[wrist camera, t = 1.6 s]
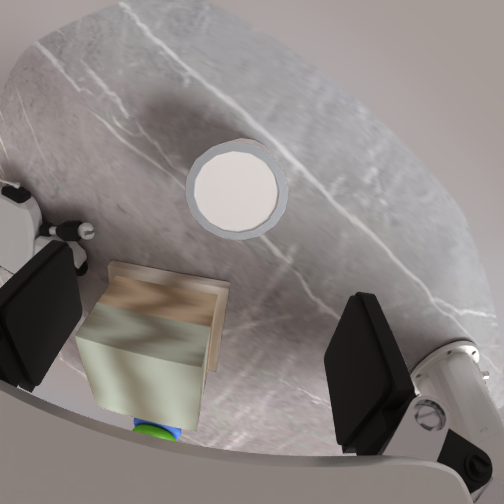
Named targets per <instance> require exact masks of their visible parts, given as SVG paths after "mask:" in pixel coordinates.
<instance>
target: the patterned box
mask: <svg viewBox="0 0 504 504" xmlns="http://www.w3.org/2000/svg"><path fill="white" fill-rule="evenodd" d="M107 269H108V280H109V286H108V287H107V289H106V290H105V292H104V293H103V294H102V296H101V297H100V299H99V300H98V302H97V303H96V305H95V306H94V307H93V309H92V310H91V312H90V313H89V315H88V316H87V318H86V319H85V321H84V322H83V324H82V325H81V327H80V328H79V330H78V332H77V333H76V335H75V339H76V343H77V346H78V350H79V353H80V356H81V360H82V363H83V366H84V369H85V372H86V375H87V378H88V381H89V384H90V387H91V390H92V393H93V395H94V398H95V401H96V404H97V405H98V406H99V407H101V408H104V409H108V410H111V411H114V412H117V413H121V414H124V415H128V416H131V417H135V418H138V419H142V420H146V421H150V422H154V423H158V424H162V425H167V426H171V427H176V428H181V429H185V430H191V431H197V426H198V420H199V415H200V409H201V404H202V399H203V393H204V388H205V383H206V377H207V372H208V371H213V372H216V370H217V363H218V357H219V350H220V344H221V337H222V331H223V324H224V318H225V312H226V305H227V299H228V293H229V287H230V282H226V281H220V280H214V279H209V278H203V277H198V276H192V275H187V274H181V273H176V272H170V271H165V270H160V269H155V268H149V267H144V266H139V265H134V264H129V263H124V262H119V261H114V260H111V262H110V263H109V264H108V265H107Z"/></svg>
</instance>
